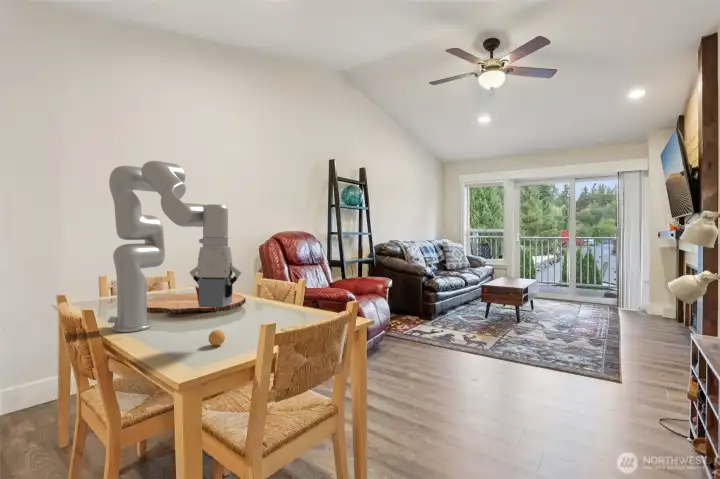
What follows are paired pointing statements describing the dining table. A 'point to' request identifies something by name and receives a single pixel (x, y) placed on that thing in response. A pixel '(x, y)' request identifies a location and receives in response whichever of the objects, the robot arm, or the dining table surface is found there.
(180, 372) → the dining table surface
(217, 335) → the ball
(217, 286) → the grey matte cube
